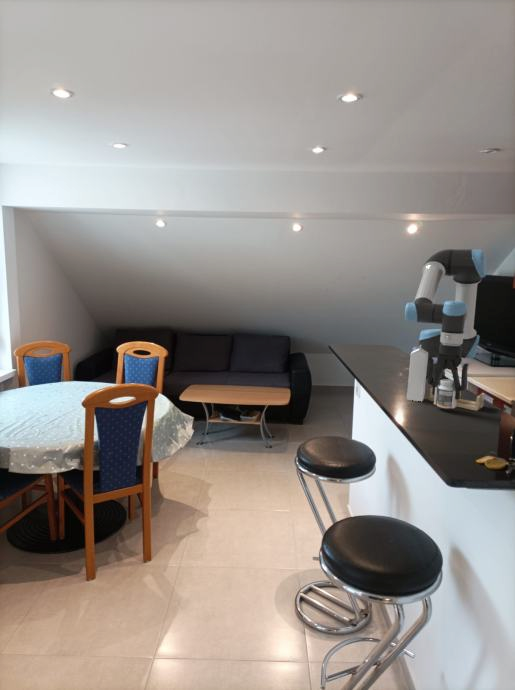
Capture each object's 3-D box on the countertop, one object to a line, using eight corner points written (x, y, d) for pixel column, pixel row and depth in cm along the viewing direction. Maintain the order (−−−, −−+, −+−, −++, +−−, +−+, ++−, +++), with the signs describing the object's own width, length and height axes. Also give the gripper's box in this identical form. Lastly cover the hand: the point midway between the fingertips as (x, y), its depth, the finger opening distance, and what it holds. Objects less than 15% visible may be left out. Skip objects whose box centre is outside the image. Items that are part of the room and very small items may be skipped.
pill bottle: (439, 403, 171) (441, 377, 169) (454, 406, 167) (457, 380, 165) (434, 406, 166) (436, 380, 165) (450, 409, 163) (453, 383, 161)
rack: (436, 396, 185) (437, 384, 184) (483, 406, 174) (484, 393, 173) (429, 400, 179) (430, 387, 178) (476, 410, 168) (478, 397, 167)
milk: (406, 400, 179) (410, 345, 176) (408, 396, 185) (413, 343, 181) (422, 402, 177) (427, 347, 173) (424, 398, 182) (429, 344, 178)
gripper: (421, 341, 166) (415, 402, 170) (475, 348, 154) (468, 413, 158) (429, 339, 172) (423, 398, 176) (481, 346, 159) (474, 409, 163)
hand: (444, 405), depth 167 cm, fingers closed on pill bottle, 6 cm apart
